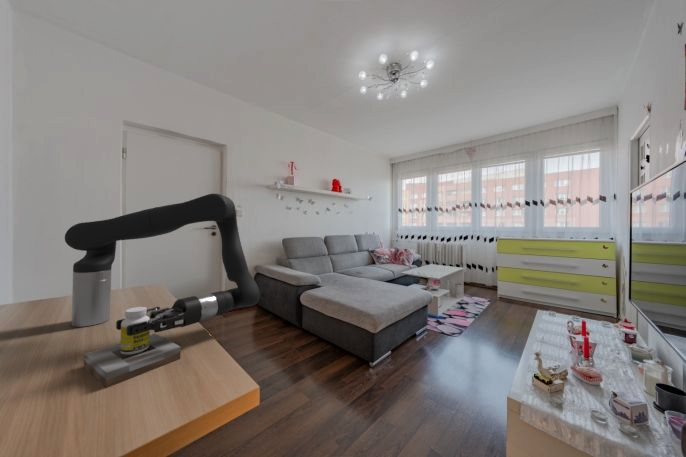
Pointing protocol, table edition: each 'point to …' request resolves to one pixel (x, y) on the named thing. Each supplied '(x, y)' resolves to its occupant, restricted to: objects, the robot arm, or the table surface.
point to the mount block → (130, 360)
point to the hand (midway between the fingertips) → (122, 328)
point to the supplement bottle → (136, 341)
